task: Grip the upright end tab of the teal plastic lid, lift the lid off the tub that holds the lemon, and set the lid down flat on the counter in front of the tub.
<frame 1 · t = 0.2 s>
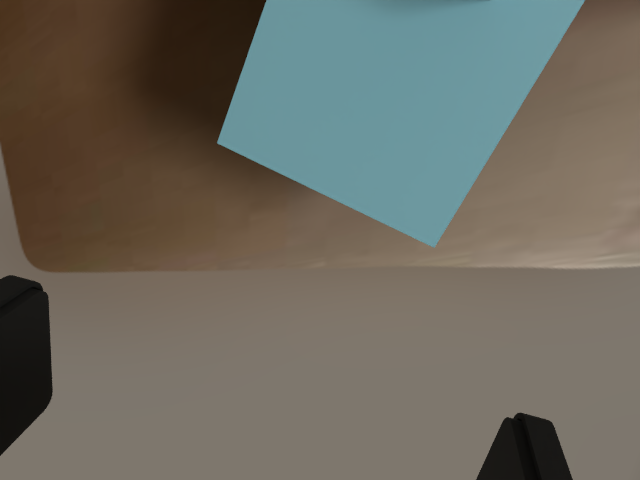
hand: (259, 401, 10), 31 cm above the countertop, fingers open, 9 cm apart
lid: (390, 59, 26), point 10 cm above the countertop, touching tub
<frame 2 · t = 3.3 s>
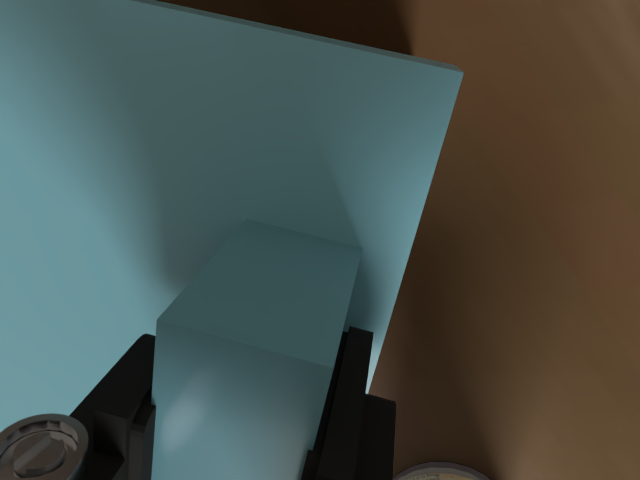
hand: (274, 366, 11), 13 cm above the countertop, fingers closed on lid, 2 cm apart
lid: (108, 255, 14), point 10 cm above the countertop, touching gripper, tub
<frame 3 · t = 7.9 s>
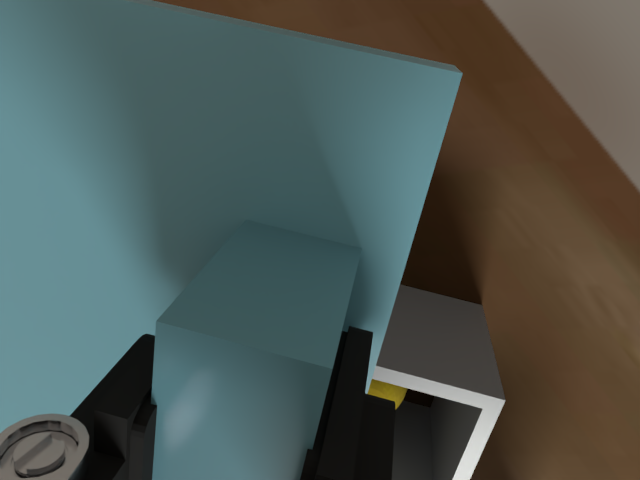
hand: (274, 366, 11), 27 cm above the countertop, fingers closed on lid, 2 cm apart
lid: (108, 256, 14), point 24 cm above the countertop, touching gripper
tub: (376, 343, 42), on the countertop
lemon: (376, 342, 42), resting in tub
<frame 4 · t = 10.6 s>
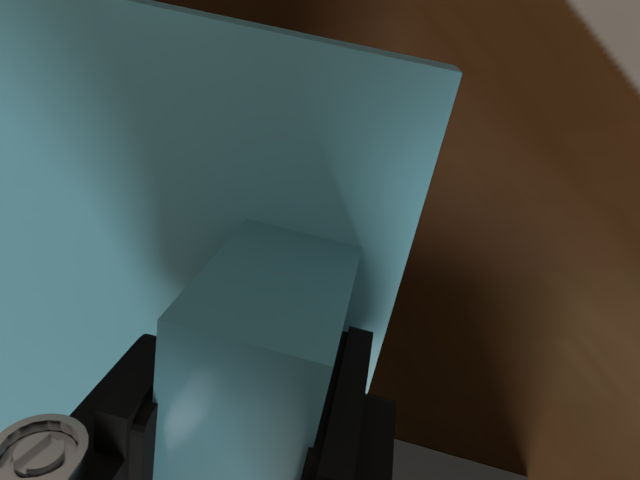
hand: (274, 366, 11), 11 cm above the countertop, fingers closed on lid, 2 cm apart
lid: (109, 255, 14), point 8 cm above the countertop, touching gripper
when the fingers open (4 cm above the countertop, at t = 12.7 s): lid drops 1 cm, on the countertop.
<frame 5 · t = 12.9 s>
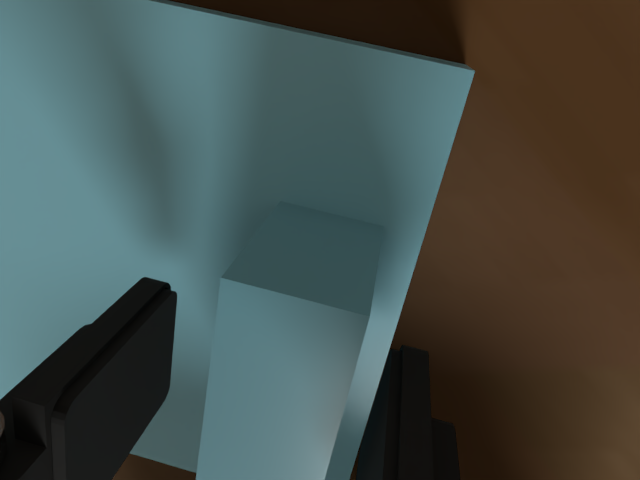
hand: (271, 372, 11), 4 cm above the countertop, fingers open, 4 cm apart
lid: (147, 238, 15), on the countertop
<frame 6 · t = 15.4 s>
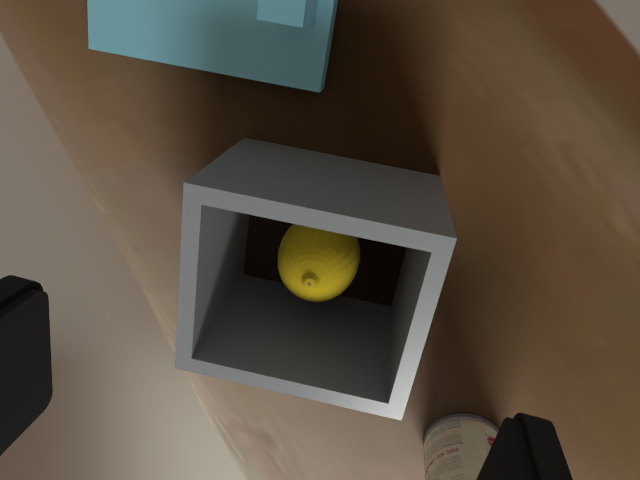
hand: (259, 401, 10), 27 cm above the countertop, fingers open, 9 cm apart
aerosol can: (462, 441, 44), on the countertop
tub: (326, 233, 37), on the countertop
lemon: (327, 232, 38), resting in tub
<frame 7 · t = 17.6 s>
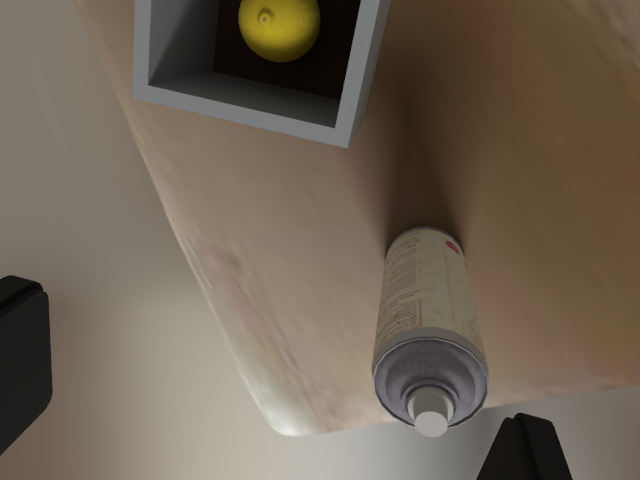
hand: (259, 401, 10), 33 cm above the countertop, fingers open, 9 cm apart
aerosol can: (424, 261, 44), on the countertop
tub: (293, 21, 38), on the countertop
lemon: (293, 21, 39), resting in tub
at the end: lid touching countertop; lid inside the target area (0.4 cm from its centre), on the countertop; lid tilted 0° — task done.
